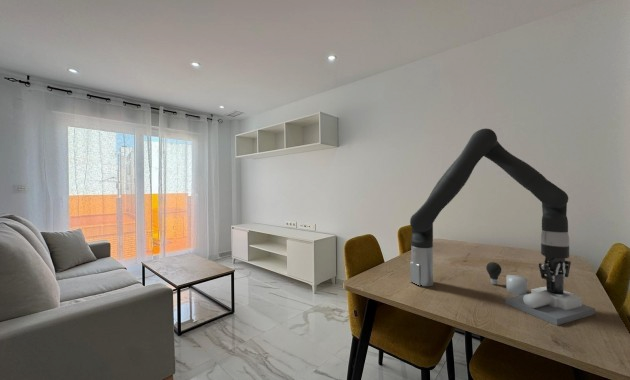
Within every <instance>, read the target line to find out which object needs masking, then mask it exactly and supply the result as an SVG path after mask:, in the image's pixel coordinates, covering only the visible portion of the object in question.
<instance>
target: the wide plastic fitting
mask: <svg viewBox="0 0 630 380" xmlns="http://www.w3.org/2000/svg"><path fill="white" fill-rule="evenodd" d="M505 277H506V279H505V281H506V292H508V293H510V294H512V295H515V296H520V295H524V294H528V278H527V277H524V276H523V275H522V276H521V275H517V274H507V275H506V276H505Z"/></svg>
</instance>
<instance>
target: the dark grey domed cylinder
mask: <svg viewBox="0 0 630 380" xmlns="http://www.w3.org/2000/svg"><path fill="white" fill-rule="evenodd" d="M550 272H552V273H553V271H550ZM551 278H552V275H551ZM554 282H555V291H554V292H551V291H548V290H547V291H548V292H550V293H553V294H558V295H563V294H564V291H565V288H564V287H565V286H564V285H565V283H564V282H565V280H564V274H562V273H558V275H557V276H556V277H555V281H554Z"/></svg>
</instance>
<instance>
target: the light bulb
mask: <svg viewBox="0 0 630 380" xmlns="http://www.w3.org/2000/svg"><path fill="white" fill-rule="evenodd" d="M485 267H486V271H487V272H486V273H488V275H489V279H490V284H492V285H494V286H496V285H497V284H498V279H499V276H500V275H501V272H502V266H501V265H500V264H499V263H497V262H494V261H491V262H488V263H487V264H486V266H485Z"/></svg>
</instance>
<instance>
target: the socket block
mask: <svg viewBox="0 0 630 380" xmlns="http://www.w3.org/2000/svg"><path fill="white" fill-rule="evenodd" d="M582 301H583V297H581V296H579V295H576V294H575V293H573V292H569V291H565V290H564V294H563V295H558V294H553V293H550V292H548V291H547V288H546V286H541V287H536V288H532V289H530V292H529V293H527V294H524V295H514V296H512V297H511V296H510V297H507V298H505V304H506V305H508V306H510V307H512V308H514V309H517V310H520V311H522V312H523V313H527V314H529V315H531V316H534V317H536V318H538V319H541V320H543V321H546V322H548V323H550V324H553V325H555V326H560V325H563V324H566V323H570V322H573V321H577V320H580V319H584V318H587V317H590V316H594V315H596V308H595V307H592V306H589V305H587V304H583V302H582ZM593 314H594V315H593Z"/></svg>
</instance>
